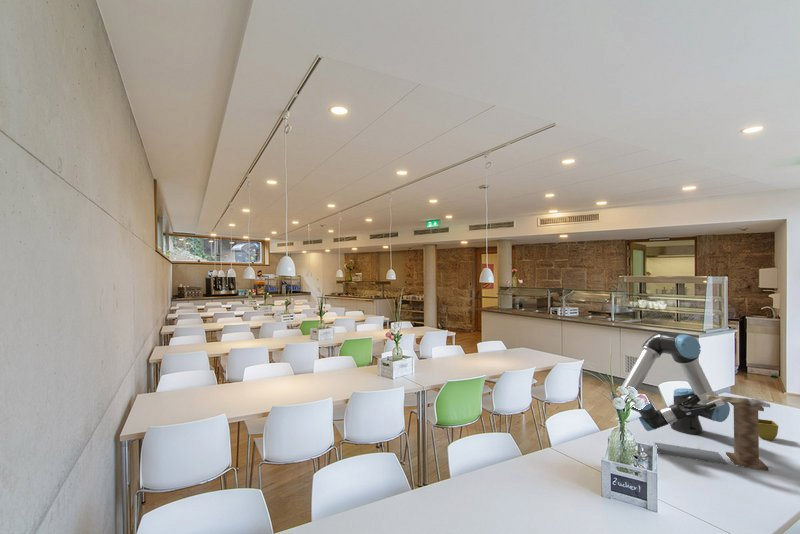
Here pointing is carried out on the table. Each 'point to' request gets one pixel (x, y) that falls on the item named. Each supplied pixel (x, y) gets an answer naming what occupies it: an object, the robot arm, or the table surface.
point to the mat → (690, 453)
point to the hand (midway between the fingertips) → (717, 397)
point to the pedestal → (746, 437)
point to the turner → (739, 400)
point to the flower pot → (767, 429)
